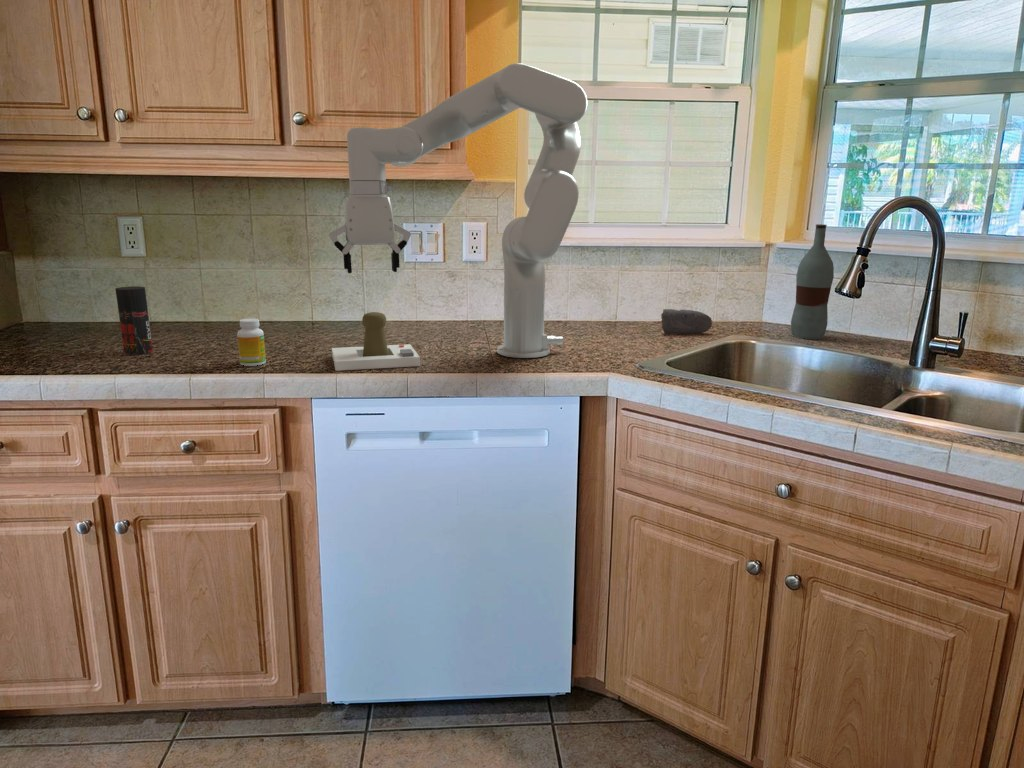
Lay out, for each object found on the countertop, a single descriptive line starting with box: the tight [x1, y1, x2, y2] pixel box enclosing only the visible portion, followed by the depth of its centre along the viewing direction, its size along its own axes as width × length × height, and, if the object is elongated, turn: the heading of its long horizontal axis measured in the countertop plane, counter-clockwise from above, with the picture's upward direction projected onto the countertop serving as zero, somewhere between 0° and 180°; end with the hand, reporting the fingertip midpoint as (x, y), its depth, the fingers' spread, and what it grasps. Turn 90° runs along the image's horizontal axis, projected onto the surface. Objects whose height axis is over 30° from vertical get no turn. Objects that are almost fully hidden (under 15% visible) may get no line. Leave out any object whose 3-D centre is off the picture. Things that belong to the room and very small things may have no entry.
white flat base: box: [331, 343, 421, 372], centre depth 155 cm, size 18×14×3 cm
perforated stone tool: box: [660, 308, 713, 335], centre depth 191 cm, size 15×5×7 cm, turn 94°
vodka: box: [790, 223, 835, 340], centre depth 185 cm, size 9×9×30 cm
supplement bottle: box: [236, 318, 267, 367], centre depth 150 cm, size 5×5×10 cm
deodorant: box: [115, 285, 154, 356], centre depth 159 cm, size 6×6×15 cm
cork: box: [361, 311, 389, 357], centre depth 154 cm, size 6×6×11 cm
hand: (372, 271), depth 150 cm, fingers open, 9 cm apart
